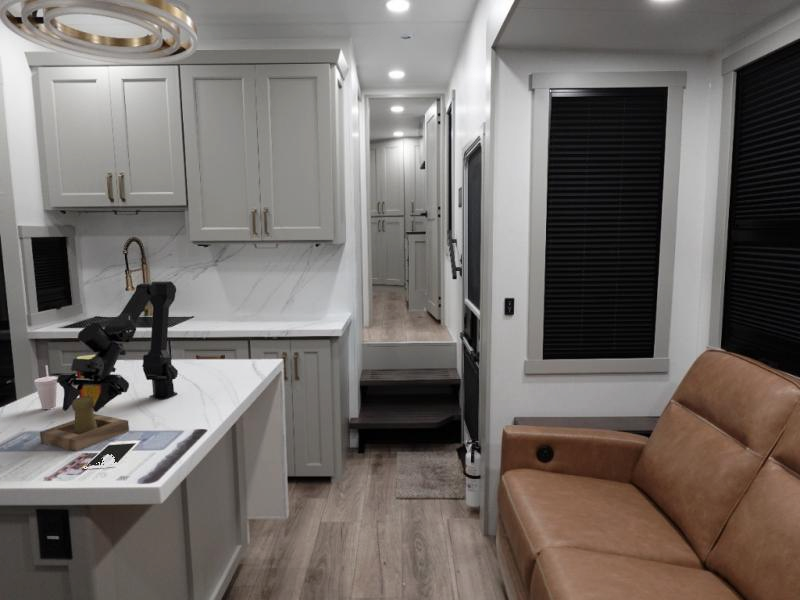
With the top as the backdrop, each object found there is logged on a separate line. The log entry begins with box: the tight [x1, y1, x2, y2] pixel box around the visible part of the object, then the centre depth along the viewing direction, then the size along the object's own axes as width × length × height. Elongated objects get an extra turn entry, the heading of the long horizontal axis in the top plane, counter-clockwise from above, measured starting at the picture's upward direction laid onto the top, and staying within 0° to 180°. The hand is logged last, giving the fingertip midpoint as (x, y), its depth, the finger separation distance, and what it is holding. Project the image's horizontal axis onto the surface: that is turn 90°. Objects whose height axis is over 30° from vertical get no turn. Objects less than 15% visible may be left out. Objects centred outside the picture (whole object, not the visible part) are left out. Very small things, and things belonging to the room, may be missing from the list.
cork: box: [71, 396, 97, 435], centre depth 141 cm, size 6×6×11 cm
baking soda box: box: [76, 354, 105, 409], centre depth 168 cm, size 10×6×16 cm
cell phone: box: [82, 439, 141, 469], centre depth 130 cm, size 8×16×1 cm, turn 7°
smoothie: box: [33, 364, 59, 410], centre depth 166 cm, size 6×6×14 cm
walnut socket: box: [39, 413, 130, 452], centre depth 142 cm, size 15×15×3 cm
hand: (79, 410), depth 139 cm, fingers open, 9 cm apart
